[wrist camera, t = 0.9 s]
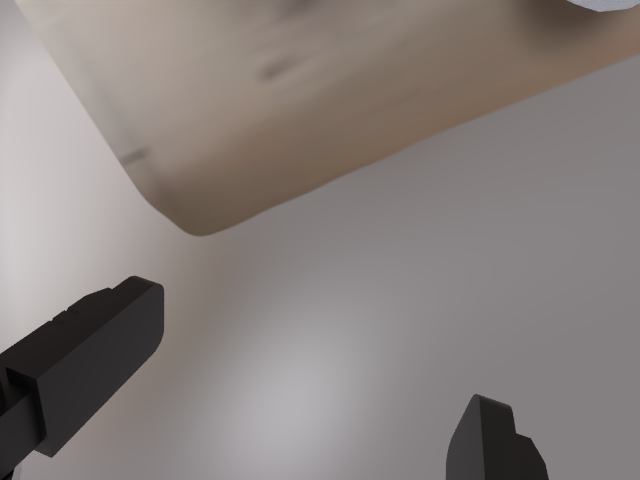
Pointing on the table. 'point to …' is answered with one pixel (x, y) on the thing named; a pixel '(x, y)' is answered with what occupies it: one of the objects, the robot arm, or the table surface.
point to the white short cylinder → (606, 4)
